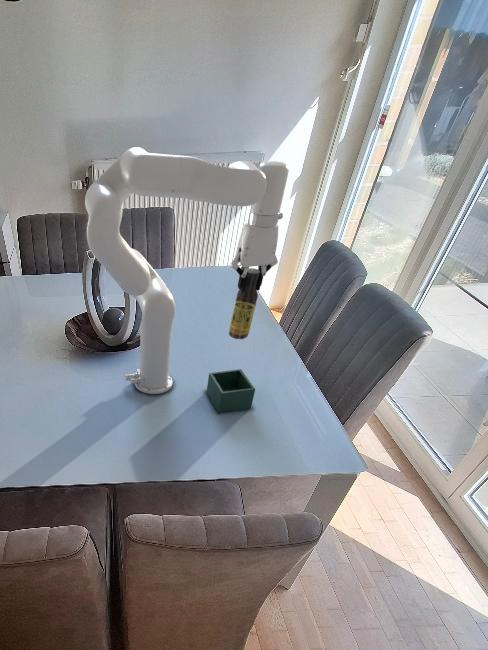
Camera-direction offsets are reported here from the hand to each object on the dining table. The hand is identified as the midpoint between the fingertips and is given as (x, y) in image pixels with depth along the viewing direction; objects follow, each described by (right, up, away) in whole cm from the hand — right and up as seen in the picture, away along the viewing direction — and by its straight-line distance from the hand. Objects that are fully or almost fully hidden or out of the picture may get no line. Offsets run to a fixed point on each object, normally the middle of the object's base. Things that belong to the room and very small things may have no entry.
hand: (248, 288), depth 134 cm
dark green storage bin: (-3, -30, +11) cm, 33 cm away
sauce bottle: (0, -10, +11) cm, 15 cm away
